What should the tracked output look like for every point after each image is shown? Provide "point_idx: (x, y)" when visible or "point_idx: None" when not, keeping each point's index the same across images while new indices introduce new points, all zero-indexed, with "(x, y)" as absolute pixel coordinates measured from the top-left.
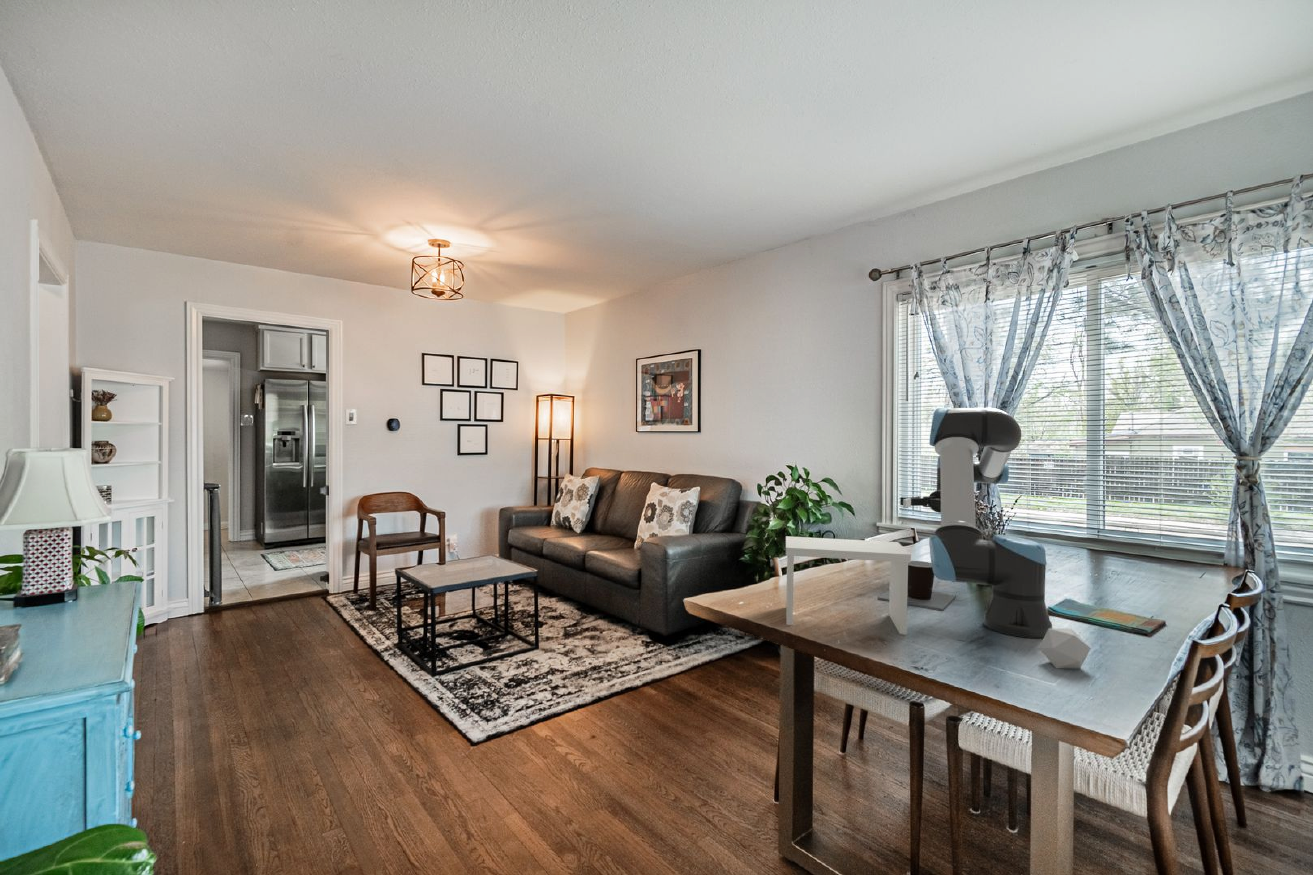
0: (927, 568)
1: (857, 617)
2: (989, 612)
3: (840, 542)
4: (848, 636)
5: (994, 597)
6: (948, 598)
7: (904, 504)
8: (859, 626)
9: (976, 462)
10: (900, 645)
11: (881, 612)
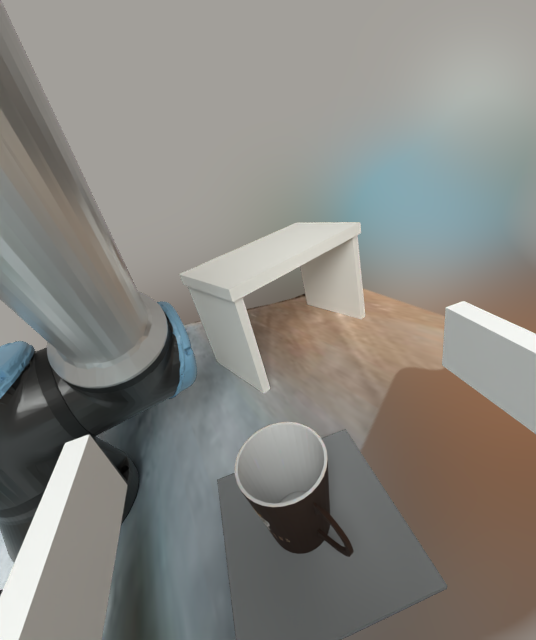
0: (245, 446)
1: (288, 354)
2: (118, 450)
3: (284, 247)
4: (255, 324)
5: (96, 437)
6: (242, 593)
7: (450, 339)
8: (266, 341)
9: None
10: (209, 343)
11: (284, 387)
